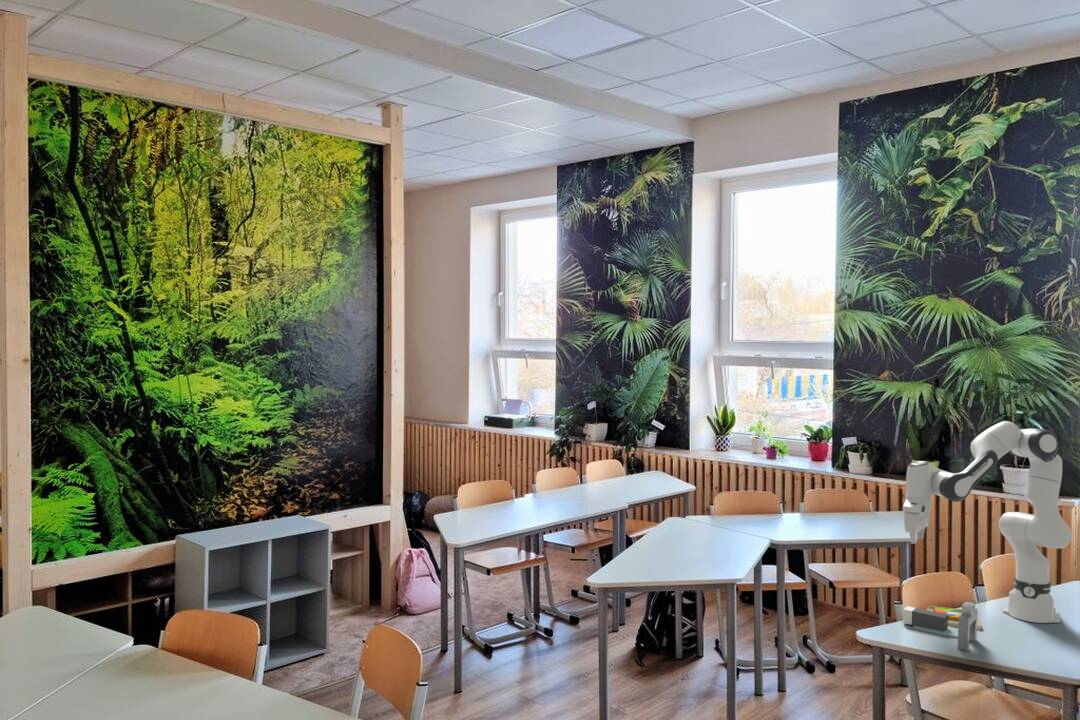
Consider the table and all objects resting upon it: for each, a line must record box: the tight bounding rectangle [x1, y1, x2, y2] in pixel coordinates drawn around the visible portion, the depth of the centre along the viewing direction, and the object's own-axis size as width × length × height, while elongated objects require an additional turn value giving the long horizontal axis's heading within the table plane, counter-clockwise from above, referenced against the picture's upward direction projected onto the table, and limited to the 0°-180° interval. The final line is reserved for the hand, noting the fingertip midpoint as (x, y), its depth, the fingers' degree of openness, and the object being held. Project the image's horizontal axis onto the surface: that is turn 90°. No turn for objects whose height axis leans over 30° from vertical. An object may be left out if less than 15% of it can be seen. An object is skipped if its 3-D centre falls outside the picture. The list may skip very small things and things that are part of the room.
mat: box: [912, 625, 958, 639], centre depth 306 cm, size 9×18×1 cm, turn 51°
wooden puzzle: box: [926, 605, 983, 632], centre depth 318 cm, size 18×19×4 cm
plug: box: [902, 605, 948, 632], centre depth 309 cm, size 5×14×5 cm, turn 51°
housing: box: [957, 601, 978, 652], centre depth 292 cm, size 14×3×14 cm, turn 141°
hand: (916, 540), depth 319 cm, fingers open, 8 cm apart
